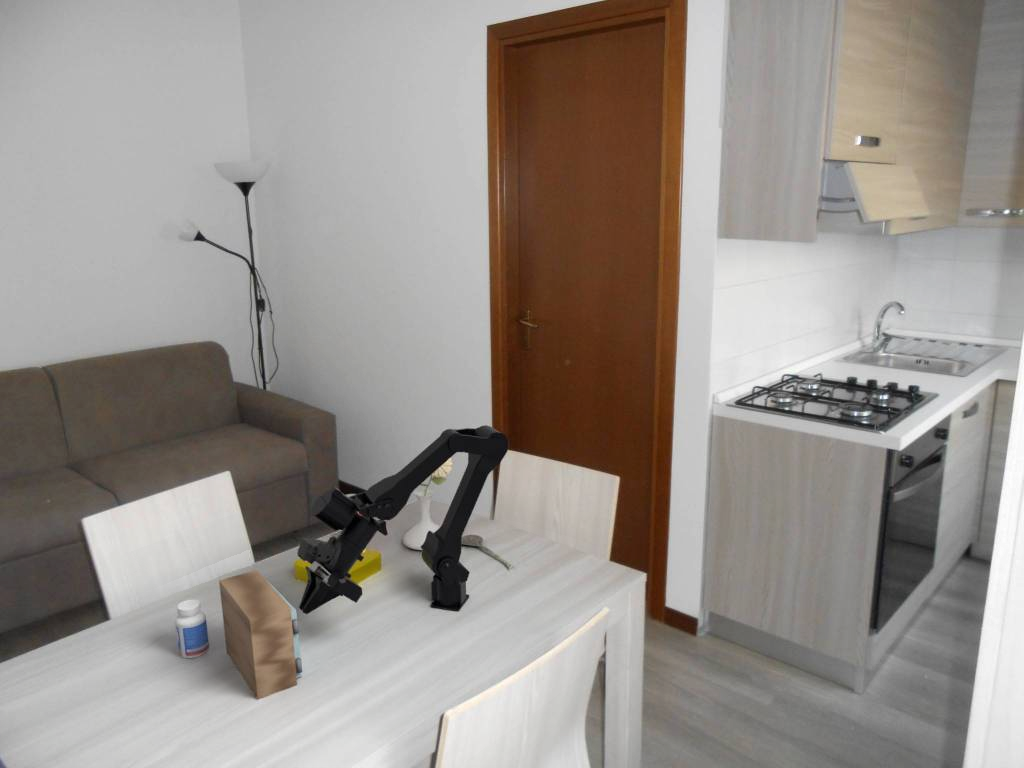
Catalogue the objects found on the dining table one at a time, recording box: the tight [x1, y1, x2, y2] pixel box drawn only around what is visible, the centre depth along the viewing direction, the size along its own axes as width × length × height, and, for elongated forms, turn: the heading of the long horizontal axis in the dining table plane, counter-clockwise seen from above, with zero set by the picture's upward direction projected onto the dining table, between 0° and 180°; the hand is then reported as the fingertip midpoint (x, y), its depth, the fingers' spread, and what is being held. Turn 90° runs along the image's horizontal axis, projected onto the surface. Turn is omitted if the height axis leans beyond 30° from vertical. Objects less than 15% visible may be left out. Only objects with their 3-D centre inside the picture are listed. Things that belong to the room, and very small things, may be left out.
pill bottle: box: [174, 599, 210, 659], centre depth 149 cm, size 6×5×10 cm
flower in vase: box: [402, 457, 453, 551], centre depth 194 cm, size 13×11×25 cm
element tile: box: [293, 547, 383, 585], centre depth 181 cm, size 15×15×5 cm
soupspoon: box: [461, 534, 516, 571], centre depth 190 cm, size 22×3×7 cm
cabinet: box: [218, 569, 298, 700], centre depth 143 cm, size 7×18×15 cm, turn 36°
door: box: [266, 580, 303, 679], centre depth 145 cm, size 15×2×13 cm, turn 37°
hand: (302, 611), depth 151 cm, fingers closed
